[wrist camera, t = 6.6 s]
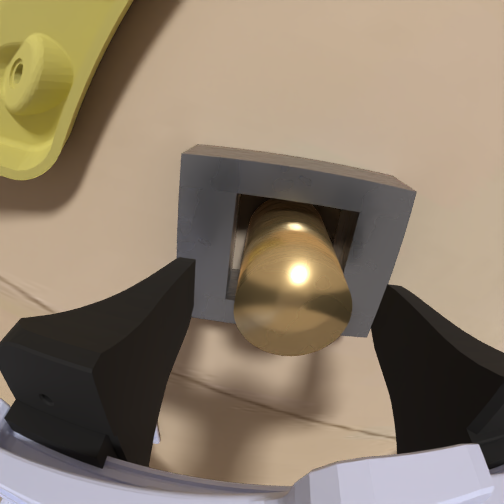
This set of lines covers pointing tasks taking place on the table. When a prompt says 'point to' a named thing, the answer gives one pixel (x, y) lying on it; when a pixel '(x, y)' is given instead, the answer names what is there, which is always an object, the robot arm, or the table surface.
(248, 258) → the gold metal cylinder
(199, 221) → the frame
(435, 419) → the robot arm
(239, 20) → the table surface
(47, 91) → the plastic component
